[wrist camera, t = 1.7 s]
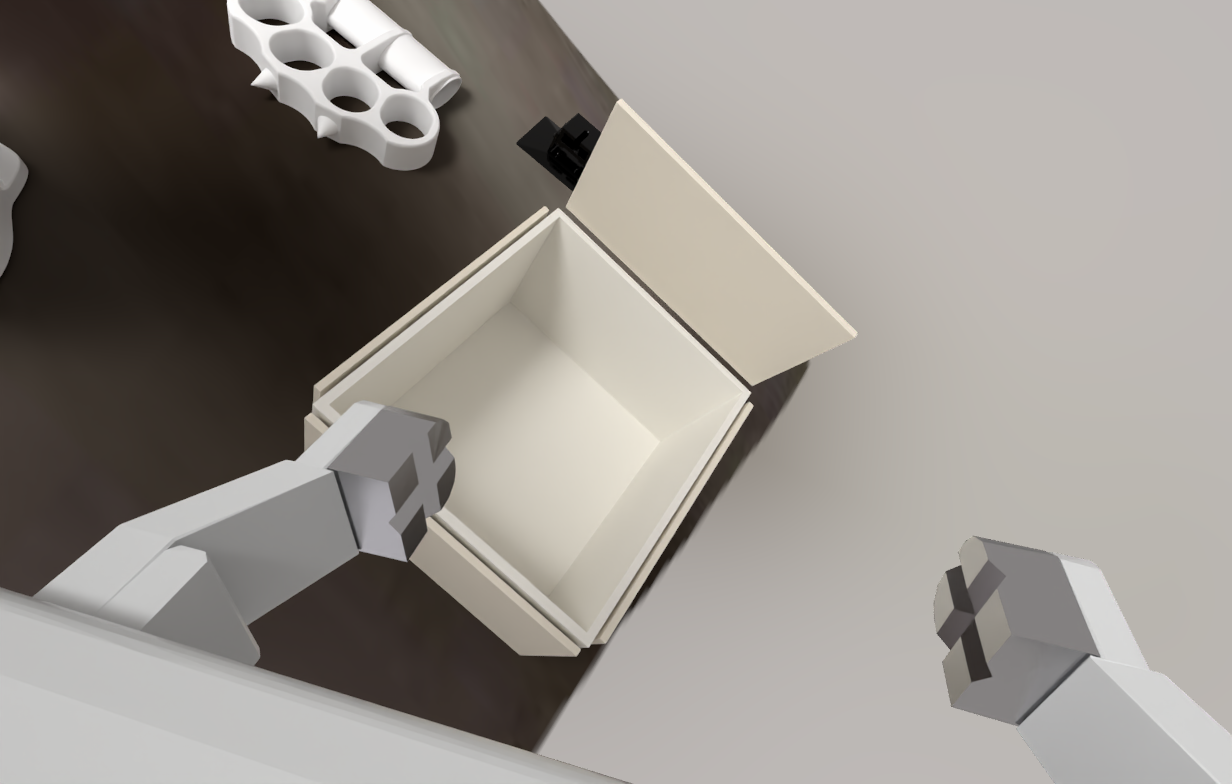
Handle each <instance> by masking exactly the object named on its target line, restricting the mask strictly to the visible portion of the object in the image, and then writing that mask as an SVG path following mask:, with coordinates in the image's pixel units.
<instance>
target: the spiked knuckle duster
mask: <svg viewBox="0 0 1232 784" xmlns="http://www.w3.org/2000/svg"><path fill="white" fill-rule="evenodd" d="M227 8H228V17H229V25H230V33H231V39H232V42H233V44H234V46H235V48H237V49H239V50H241V51H243V52H244V53H246V54H247V55H248V56H250V57H251V58H252V59H253V60H254V61H255V62H256V63H257V65H258V66H259V67H260V69H261V71H262V72H261V73H260V75H259V76H258V77H257V78H256V79H255V80H254V81H253V83H252V84H251V85H252V86H256V87H260V88H264V89H268V90H270V91H271V92H272V94H273V95H274V96H275V97H276V99H277V100H278V101H279V102H280V103H283V104H286V105H288V106H291V107H293V108H294V109H296V110H298V111H299V112H300V113H302V114H303V115H304V116H305V117H306V118H307V119H308V120H309V121H310V123H311V124H312V126H313V128H314V130H315V131H317V138H322V137H326V136H327V137H329V138H331V139H332V140H334V141H336V142H338V143H343V144H350V145H354V146H357V147H359V148H362V149H364V150H366V151H367V152H369V153H371V154H372V155H373V156H374V157H376V158H377V159H378V160H379V161H380V163H381V164H382V165H383V166H385V167H387V168H391V169H395V170H404V171H407V170H415V169H418V168H421V167H423V166H424V165H426V164H427V163H428V162H429V161H430V160H431V158H432V156H433V153H434V149H435V145H436V141H437V138H438V134H439V130H440V121H439V117H438V114H437V112H436V110H435V109H437V108H439V107H440V106H442V105H443V104H445V103H446V102H447V101H449V100H450V99H451V98H452V97H453V95H454V94H455V93H456V92H457V91H458V89H459V88H460V86H461V83H462V79H461V78H460V75H459V74H458V73H457V72H456V71H455V70H451V69H450V68H448V67H447V66H446V65H445V64H444V63H442V62H441V61H440V60H439V59H438V58H437V57H435V56H434V55H433V54H432V53H431V52H430V51H428V50H427V49H426V48H425V47H424V46H423V45H421V44H420V43H419V42H418V41H417V40H415V39H414V38H413V37H412V34H411V33H410V32H409V31H408V30H405V29H402V28H401V27H400V26H399V25H398V24H397V23H395V22H394V21H393V20H392V19H391V18H389V17H388V16H387V15H386V14H385V13H384V12H382V11H381V10H380V9H379V8H378V7H376V6H375V5H374V4H373V3H372V2H371V1H369V0H227ZM262 19H277V20H281V21H284V22H287V23H289V25H283V26H272V25H267V24H264V23H261V22H259V21H256V20H262ZM332 29H334V30H335V31H337V32H338V33H339V34H340V35H342V36H343V37H344V38H345V39H346V40H348V41H349V42H350V43H351V44H352V45H354V46H355V47H356V49H347V48H344V47H342V46H341V45H339V44H338V43H337V42H336V41H335V40H333V39H332V38H331V37H330V36H329V35H327V34H326V32H328V31H330V30H332ZM298 60H301V61H308V62H312V63H314V64H317V65H319V66H320V67H322V69H317V70H312V71H302V70H297V69H294V68H291V67H289V66H286V65H285V64H283V63H286V62H291V61H298ZM382 70H384V71H385V72H386V73H387V74H389V75H390V76H391V77H392V78H394V79H395V80H396V81H397V82H398V83H400V84H401V85H402V86H403V87H404V88H406V89H407V90H405V89H395V88H392V87H391V86H389V85H388V84H387V83H386V82H384V81H383V80H382V79H381V78H379V77H378V76H377V75H376V74H377V73H379V72H380V71H382ZM338 96H351V97H355V98H357V99H360V100H362V101H363V102H365V103H366V104H367V105H369V106H370V108H371V109H370V110H368V111H366V112H361V113H354V112H348V111H345V110H342V109H340V108H338V107H336V106H335V105H333V104H332V103H331V102H330V100H331V99H333V98H335V97H338ZM392 121H404V122H407V123H410V124H412V125H414V126H416V127H417V128H418V129H420V130H421V131H422V133H423V134H424V135H425V136H424V137H422V138H419V139H407V138H403V137H400V136H398V135H396V134H394V133H393V132H391V131H390V130H389V129H388V128H387V127H386V126H385V125H386V124H387V123H389V122H392Z"/></svg>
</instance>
